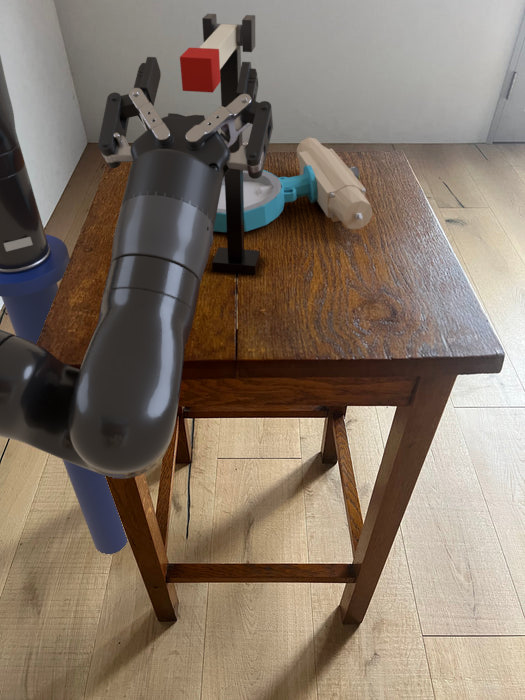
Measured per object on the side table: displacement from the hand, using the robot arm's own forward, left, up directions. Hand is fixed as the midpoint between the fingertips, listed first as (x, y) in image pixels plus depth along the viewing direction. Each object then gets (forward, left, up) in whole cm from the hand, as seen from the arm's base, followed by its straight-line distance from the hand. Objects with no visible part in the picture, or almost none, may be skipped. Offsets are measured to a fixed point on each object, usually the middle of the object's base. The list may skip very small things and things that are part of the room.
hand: (200, 66), depth 50 cm
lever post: (0, +13, -29) cm, 32 cm away
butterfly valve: (+2, +30, -29) cm, 42 cm away
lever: (0, +6, -2) cm, 6 cm away
